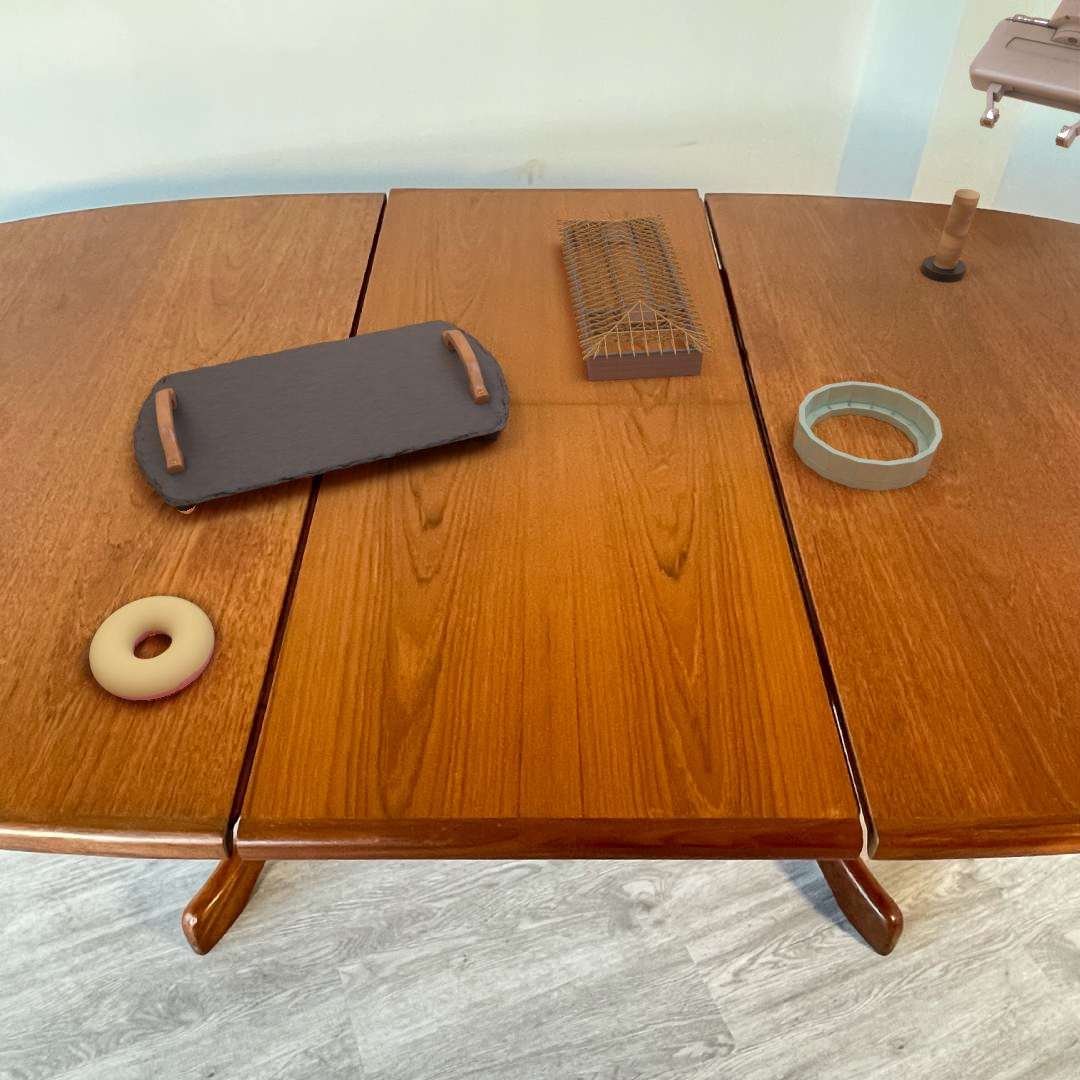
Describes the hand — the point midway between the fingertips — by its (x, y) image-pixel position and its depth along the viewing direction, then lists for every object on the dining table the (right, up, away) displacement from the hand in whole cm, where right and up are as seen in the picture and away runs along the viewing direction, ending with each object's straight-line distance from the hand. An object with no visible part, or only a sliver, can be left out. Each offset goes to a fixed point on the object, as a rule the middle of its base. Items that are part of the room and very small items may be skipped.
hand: (1022, 134), depth 107 cm
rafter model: (-48, -20, +4) cm, 52 cm away
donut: (-90, -59, -35) cm, 114 cm away
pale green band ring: (-27, -42, -19) cm, 53 cm away
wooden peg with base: (-8, -17, +5) cm, 19 cm away
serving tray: (-82, -37, -13) cm, 90 cm away
